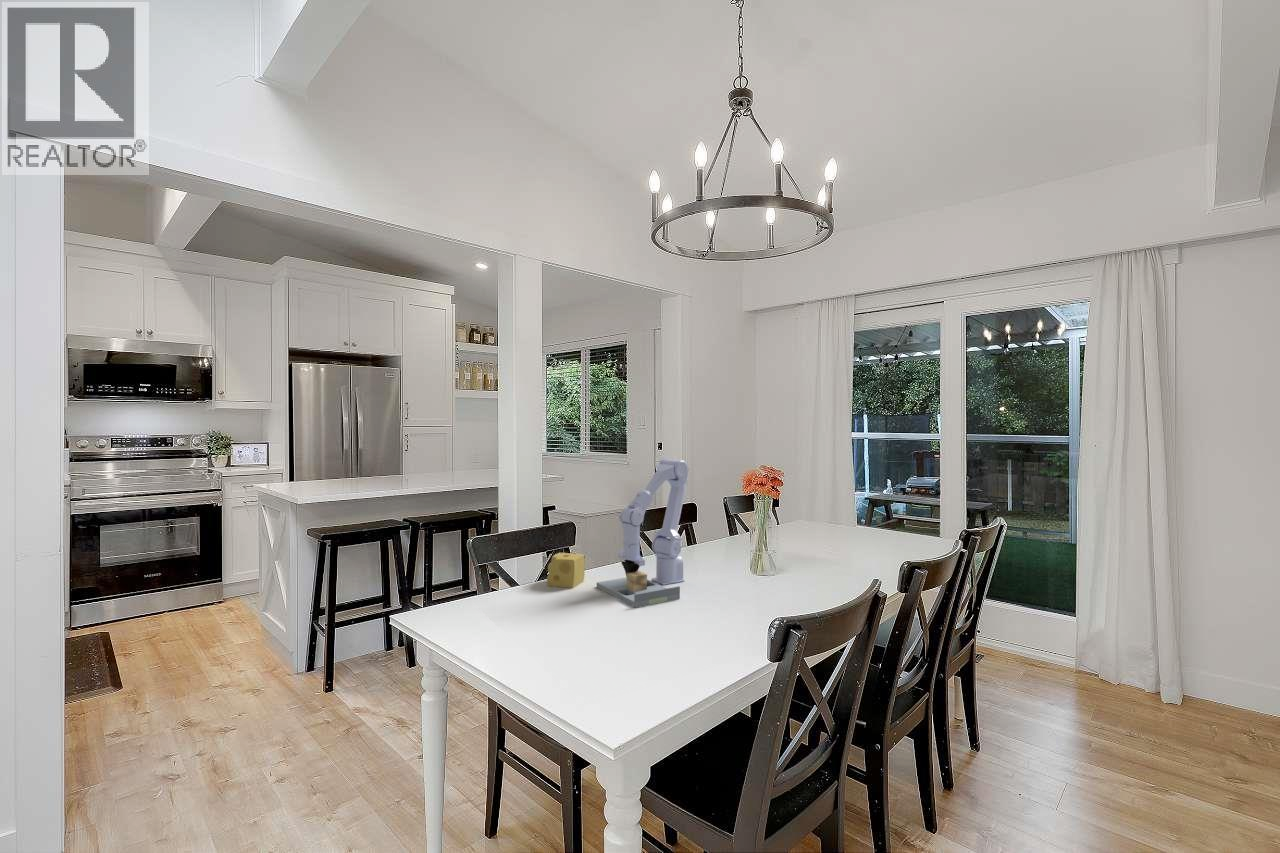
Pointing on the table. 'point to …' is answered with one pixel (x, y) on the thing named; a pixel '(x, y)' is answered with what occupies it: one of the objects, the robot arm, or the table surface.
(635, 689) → the table surface
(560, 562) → the cheese
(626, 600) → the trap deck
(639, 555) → the robot arm
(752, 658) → the table surface
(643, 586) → the oak block
